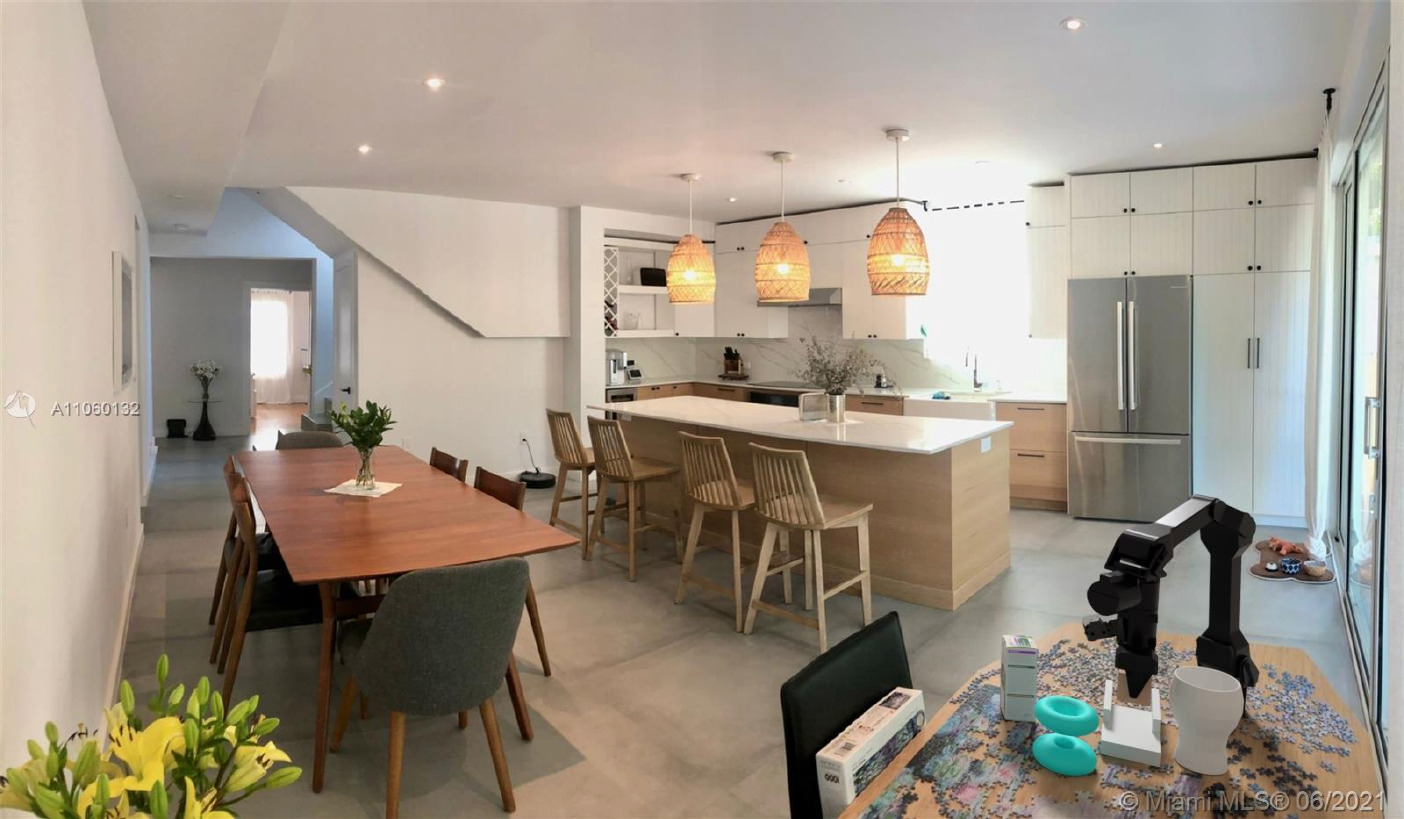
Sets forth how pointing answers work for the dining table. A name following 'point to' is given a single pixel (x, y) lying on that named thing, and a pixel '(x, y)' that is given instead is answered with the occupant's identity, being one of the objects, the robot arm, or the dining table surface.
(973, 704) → the dining table surface
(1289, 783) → the dining table surface
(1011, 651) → the syrup box
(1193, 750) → the cup
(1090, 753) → the donuts
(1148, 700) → the terracotta cube
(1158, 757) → the grey channel
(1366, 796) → the dining table surface
